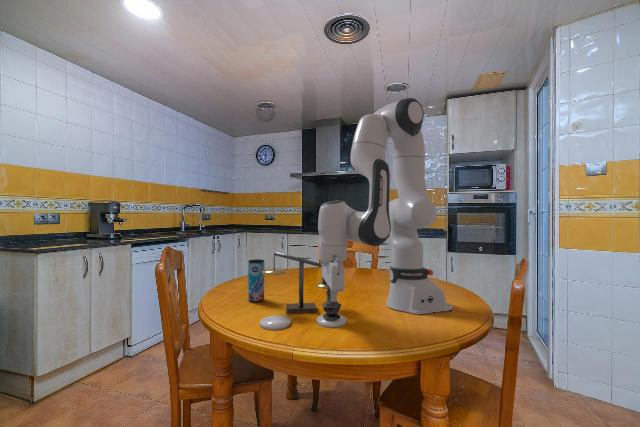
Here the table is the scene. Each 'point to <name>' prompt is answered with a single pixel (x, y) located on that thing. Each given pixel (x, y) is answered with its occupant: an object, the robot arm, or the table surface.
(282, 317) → the dish high side
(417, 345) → the table surface
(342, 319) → the dish low side
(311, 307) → the balance
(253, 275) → the beverage can
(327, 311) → the chess piece
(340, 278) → the robot arm
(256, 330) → the table surface
